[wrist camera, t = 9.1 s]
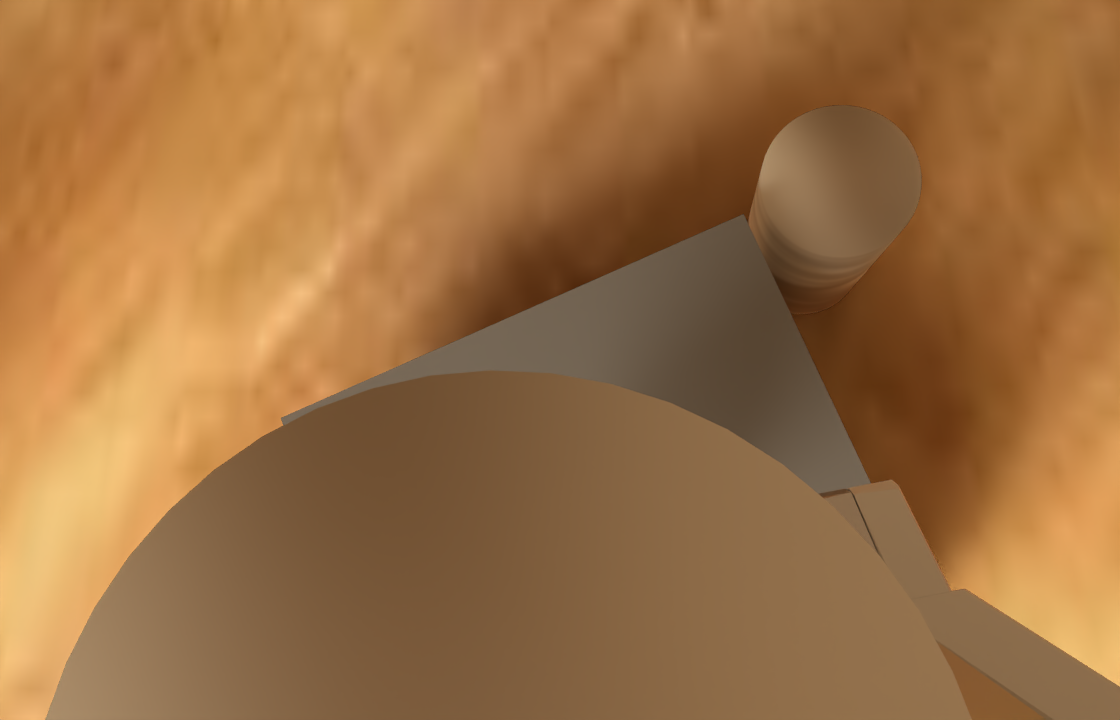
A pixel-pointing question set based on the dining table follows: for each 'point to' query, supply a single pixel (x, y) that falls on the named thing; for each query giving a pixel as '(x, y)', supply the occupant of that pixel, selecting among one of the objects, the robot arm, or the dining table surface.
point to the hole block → (675, 350)
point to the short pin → (832, 201)
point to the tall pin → (505, 575)
